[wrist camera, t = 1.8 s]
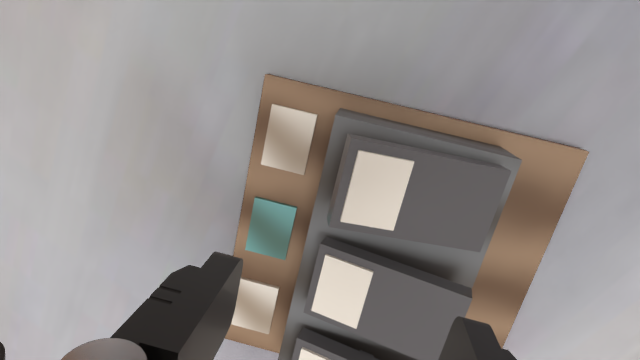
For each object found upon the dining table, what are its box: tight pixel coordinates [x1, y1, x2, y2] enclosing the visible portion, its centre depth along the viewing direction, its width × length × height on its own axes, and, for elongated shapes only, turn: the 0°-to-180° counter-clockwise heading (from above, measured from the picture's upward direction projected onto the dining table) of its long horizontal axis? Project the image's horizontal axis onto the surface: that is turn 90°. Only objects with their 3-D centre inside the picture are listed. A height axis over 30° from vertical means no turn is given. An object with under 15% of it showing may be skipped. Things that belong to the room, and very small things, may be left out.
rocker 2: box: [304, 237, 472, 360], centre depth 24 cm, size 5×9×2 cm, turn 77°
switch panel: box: [225, 74, 589, 360], centre depth 28 cm, size 22×22×5 cm
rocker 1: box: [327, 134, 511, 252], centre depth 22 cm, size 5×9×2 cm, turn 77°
